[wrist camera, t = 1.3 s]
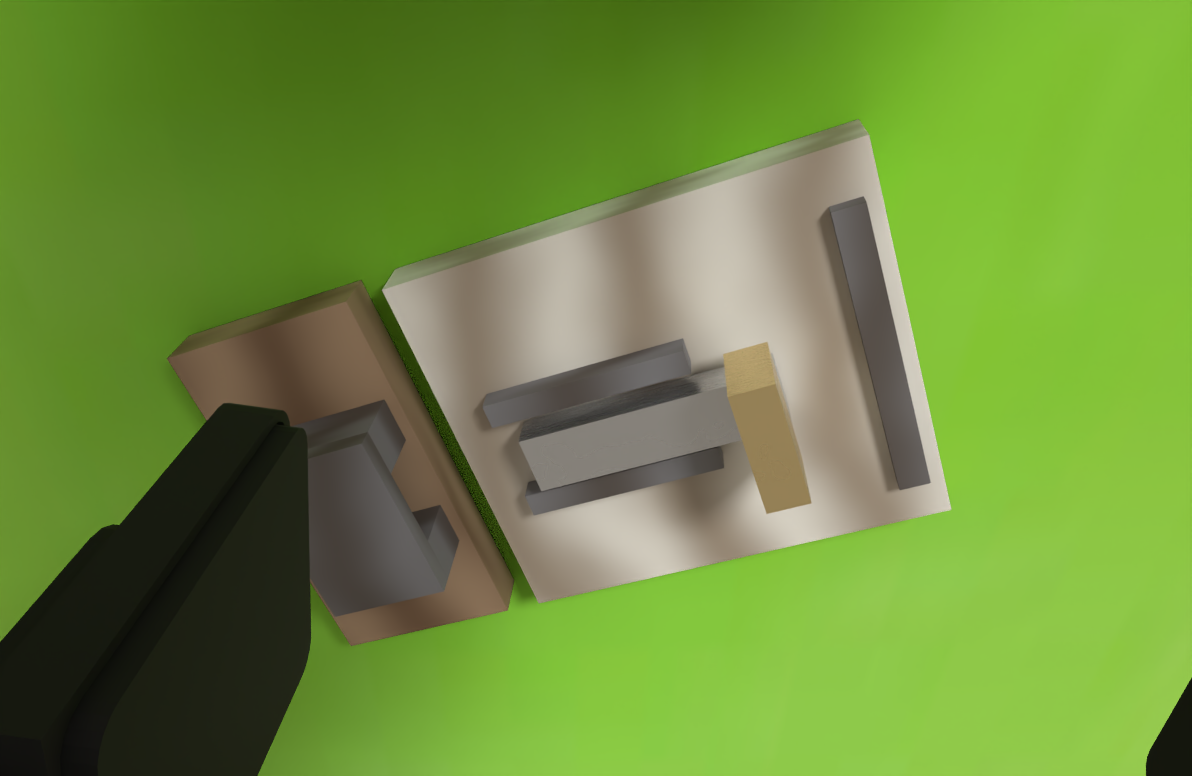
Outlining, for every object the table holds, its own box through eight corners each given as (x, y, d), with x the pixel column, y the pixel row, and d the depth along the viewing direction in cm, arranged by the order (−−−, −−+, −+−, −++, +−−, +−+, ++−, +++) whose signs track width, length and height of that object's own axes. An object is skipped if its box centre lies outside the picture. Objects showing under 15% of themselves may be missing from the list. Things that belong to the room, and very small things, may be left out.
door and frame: (858, 119, 33) (888, 163, 29) (939, 480, 40) (973, 561, 36) (189, 335, 39) (126, 400, 35) (362, 615, 46) (329, 699, 42)
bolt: (763, 322, 35) (775, 383, 31) (796, 433, 37) (811, 503, 33) (511, 394, 37) (492, 459, 33) (557, 494, 39) (544, 566, 35)
